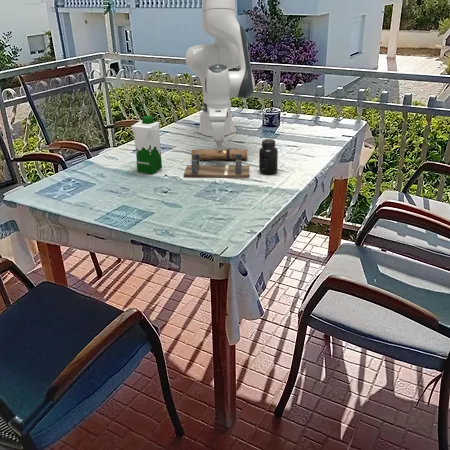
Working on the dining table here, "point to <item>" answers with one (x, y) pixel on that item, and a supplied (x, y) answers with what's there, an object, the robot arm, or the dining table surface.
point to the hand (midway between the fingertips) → (220, 146)
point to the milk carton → (147, 145)
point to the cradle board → (217, 171)
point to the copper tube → (219, 154)
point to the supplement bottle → (268, 157)
